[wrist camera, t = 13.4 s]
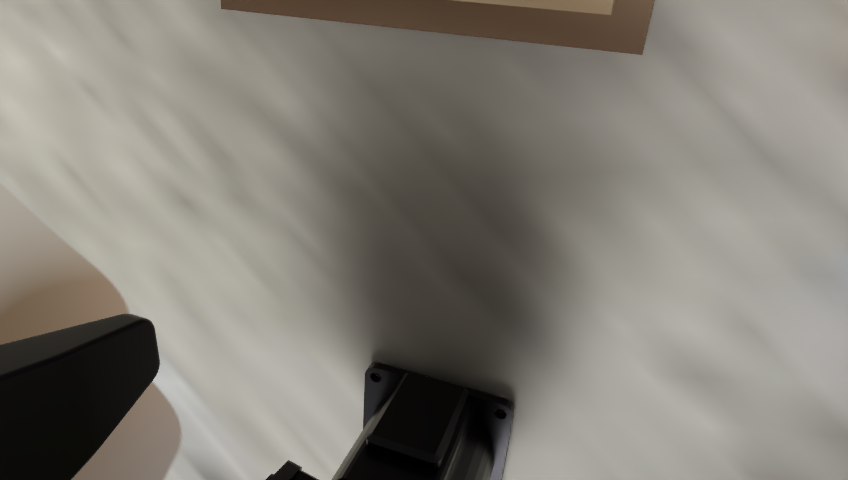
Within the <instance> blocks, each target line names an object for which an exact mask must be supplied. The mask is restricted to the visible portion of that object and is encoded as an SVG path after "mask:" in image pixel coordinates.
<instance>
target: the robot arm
mask: <svg viewBox="0 0 848 480" xmlns="http://www.w3.org/2000/svg"><path fill="white" fill-rule="evenodd" d="M159 365H160V359H159V353H158V346H157V340H156V334H155V328H154V325H153V324H152V322H151V321H150V320H148V319H146V318H143V317H139V316H136V315H133V314H121V315H117V316H113V317H109V318H105V319H101V320H98V321H94V322H89V323H85V324H81V325H77V326H73V327H70V328H65V329H61V330H57V331H54V332H49V333H45V334H41V335H38V336H34V337H30V338H26V339H22V340H18V341H14V342H10V343H6V344H2V345H0V480H71V479H72V478H73V477H74V476H75V475H76V474H77V473H78V472H79V471H80V470H81V469H82V468H83V466H84V465H85V464H86V463H87V462H88V461H89V460H90V459H91V457H92V456H93V455H94V454H95V453H96V451H97V450H98V449H99V448H100V447H101V445H102V444H103V443H104V441H105V440H106V439H107V437H108V436H109V435H110V434H111V433H112V431H113V430H114V429H115V428H116V426H117V425H118V424H119V423H120V421H121V420H122V419H123V417H124V416H125V415H126V414H127V412H128V411H129V410H130V409H131V407H132V406H133V405H134V404H135V402H136V401H137V400H138V398H139V397H140V396H141V395H142V393H143V392H144V391H145V390H146V388H147V387H148V386H149V385H150V383H151V382H152V381H153V379H154V378H155V376H156V375H157V373H158V370H159ZM375 373H377V374H379V375H380V376H381V377H378V376H377V375H376V374H375ZM497 409H502V410H504V411H505V412H506V413H501V412H499V411H498V410H497ZM513 416H514V406H513V404H512V403H511V402H510V401H509V400H507V399H505V398H501V397H498V396H494V395H491V394H487V393H484V392H480V391H477V390H473V389H470V388H466V387H463V386H459V385H456V384H452V383H449V382H445V381H442V380H438V379H435V378H431V377H428V376H424V375H421V374H417V373H414V372H410V371H407V370H403V369H400V368H396V367H393V366H389V365H386V364H382V363H372V364H371V365H370V366H369V368H368V369H367V371H366V373H365V392H364V420H363V431H362V432H361V434H360V436H359V437H358V439H357V440H356V442H355V443H354V445H353V447H352V448H351V450H350V451H349V453H348V455H347V456H346V458H345V459H344V461H343V463H342V464H341V466H340V467H339V469H338V470H337V472H336V474H335V475H334V477H333V478H332V480H502V476H503V471H504V465H505V460H506V454H507V449H508V443H509V438H510V432H511V427H512V421H513ZM301 469H302V467H300V466H298V465H296V464H295V463H293V462H291V461H289V460H288V461H287V462H286V463H285V464H284V465H283V466H282V467H281V468H280V469H279V470H278V471H277V472H276V473H275V474H274V475H273V474H271V475H270V476H269V477H268V478H267V479H266V480H318V479H317V478H315V477H313V476H311V475H309V474H307V473H306V472H304V471H302V470H301Z"/></svg>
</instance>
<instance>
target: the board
mask: <svg viewBox="0 0 848 480" xmlns="http://www.w3.org/2000/svg"><path fill="white" fill-rule="evenodd" d="M654 1H655V0H221V9H228V10H237V11H246V12H255V13H265V14H274V15H283V16H292V17H301V18H310V19H319V20H329V21H338V22H347V23H356V24H365V25H374V26H383V27H393V28H402V29H411V30H420V31H429V32H438V33H448V34H457V35H466V36H475V37H484V38H493V39H502V40H512V41H521V42H530V43H539V44H548V45H557V46H566V47H576V48H585V49H594V50H603V51H612V52H621V53H630V54H640V55H642V53H643V49H644V44H645V40H646V36H647V31H648V27H649V22H650V18H651V14H652V9H653V5H654Z"/></svg>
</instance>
